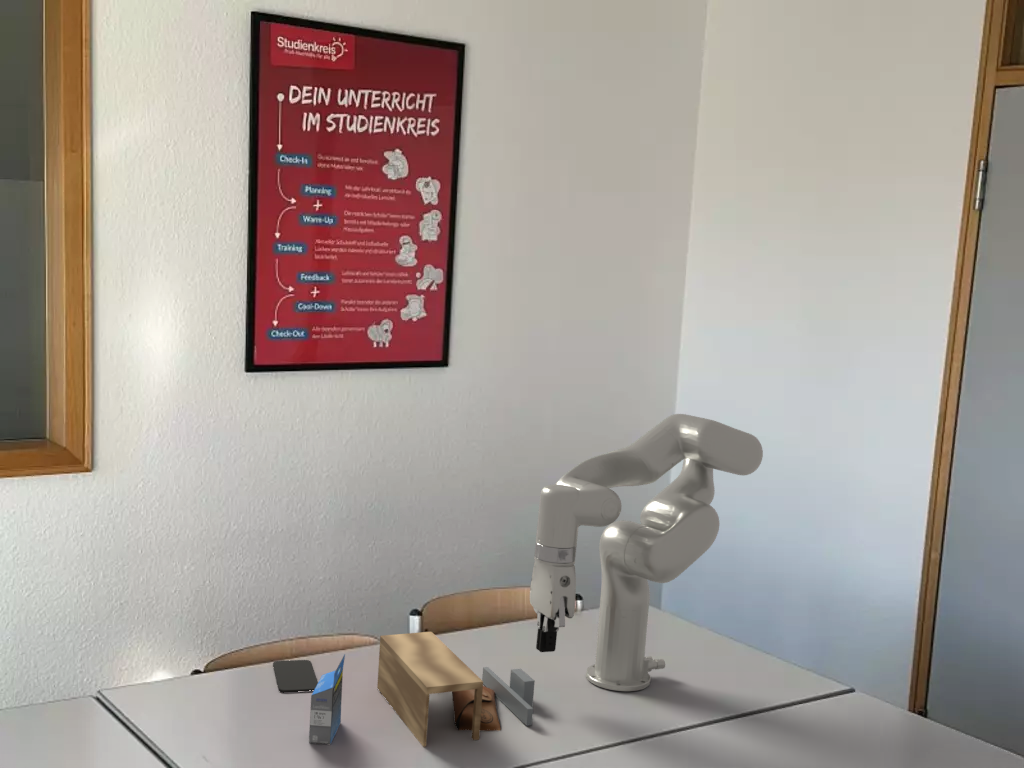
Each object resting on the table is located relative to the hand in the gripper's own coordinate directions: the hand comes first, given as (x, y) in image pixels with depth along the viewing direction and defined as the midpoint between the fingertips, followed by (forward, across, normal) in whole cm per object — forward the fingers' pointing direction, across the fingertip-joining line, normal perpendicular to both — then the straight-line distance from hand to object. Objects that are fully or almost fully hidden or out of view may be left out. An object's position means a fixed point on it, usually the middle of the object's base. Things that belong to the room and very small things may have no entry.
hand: (545, 650), depth 205 cm
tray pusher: (+10, 0, +5) cm, 11 cm away
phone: (+11, +22, +40) cm, 47 cm away
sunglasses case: (+11, 0, +13) cm, 17 cm away
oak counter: (+10, 0, +22) cm, 25 cm away
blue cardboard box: (+11, -3, +41) cm, 43 cm away
